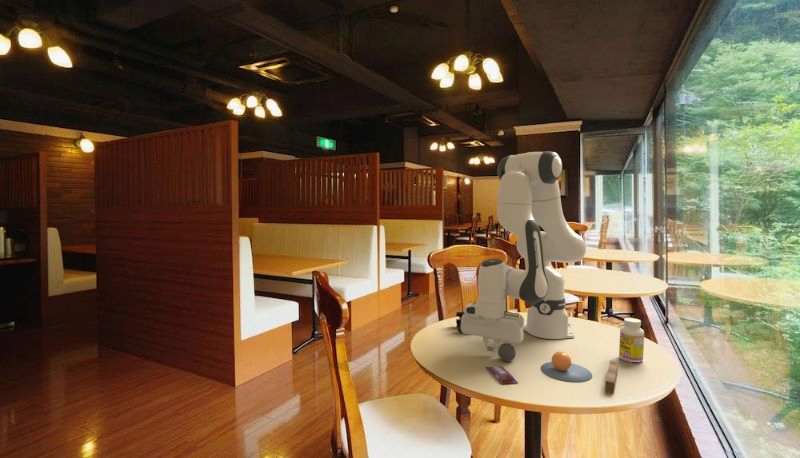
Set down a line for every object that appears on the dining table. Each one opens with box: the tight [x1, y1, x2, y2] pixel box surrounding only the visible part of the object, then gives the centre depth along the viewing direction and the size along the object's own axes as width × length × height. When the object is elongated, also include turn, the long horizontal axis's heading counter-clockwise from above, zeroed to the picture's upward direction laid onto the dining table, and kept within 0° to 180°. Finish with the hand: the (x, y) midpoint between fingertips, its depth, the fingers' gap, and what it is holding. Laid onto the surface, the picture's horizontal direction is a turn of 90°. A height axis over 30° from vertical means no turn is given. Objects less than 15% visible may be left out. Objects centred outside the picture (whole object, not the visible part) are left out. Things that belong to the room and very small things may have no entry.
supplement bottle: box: [618, 317, 645, 363], centre depth 126 cm, size 7×7×13 cm
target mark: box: [540, 361, 593, 383], centre depth 117 cm, size 14×14×1 cm
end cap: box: [455, 311, 465, 335], centre depth 156 cm, size 10×7×7 cm
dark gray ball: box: [497, 342, 517, 362], centre depth 125 cm, size 6×6×6 cm
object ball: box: [551, 351, 572, 371], centre depth 118 cm, size 6×6×6 cm
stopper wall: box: [604, 360, 619, 394], centre depth 111 cm, size 16×2×3 cm, turn 148°
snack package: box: [485, 365, 519, 385], centre depth 114 cm, size 12×2×5 cm
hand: (490, 351), depth 129 cm, fingers closed
